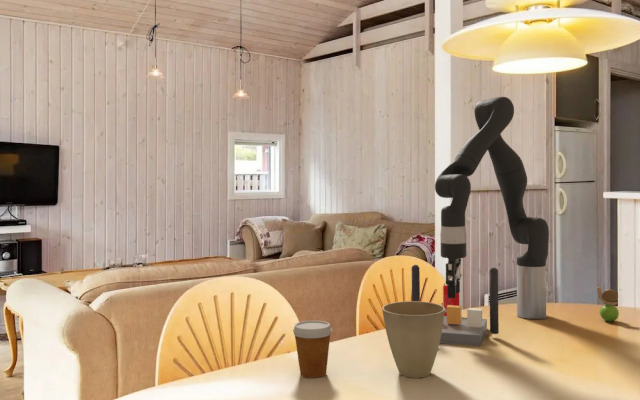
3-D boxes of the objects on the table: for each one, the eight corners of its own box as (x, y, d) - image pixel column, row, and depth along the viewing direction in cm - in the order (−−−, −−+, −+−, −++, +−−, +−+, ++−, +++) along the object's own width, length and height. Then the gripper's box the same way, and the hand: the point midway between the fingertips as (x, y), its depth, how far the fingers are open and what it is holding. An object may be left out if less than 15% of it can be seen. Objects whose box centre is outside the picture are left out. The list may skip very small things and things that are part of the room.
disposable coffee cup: (319, 383, 134) (318, 331, 134) (285, 376, 139) (284, 326, 139) (340, 371, 142) (339, 322, 142) (307, 365, 147) (306, 318, 147)
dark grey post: (498, 332, 170) (498, 267, 169) (498, 334, 168) (497, 268, 167) (490, 331, 171) (489, 266, 170) (489, 333, 169) (489, 268, 168)
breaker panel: (487, 328, 180) (486, 302, 179) (480, 346, 161) (479, 317, 161) (432, 324, 186) (431, 299, 186) (419, 341, 167) (419, 313, 167)
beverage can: (440, 319, 192) (439, 283, 192) (452, 317, 194) (452, 282, 194) (450, 323, 188) (449, 286, 187) (462, 321, 190) (462, 284, 189)
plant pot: (380, 363, 147) (379, 301, 147) (439, 363, 147) (438, 300, 146) (385, 384, 132) (384, 315, 132) (451, 383, 132) (450, 314, 131)
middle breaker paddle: (461, 322, 174) (461, 306, 174) (460, 324, 172) (460, 307, 171) (448, 321, 175) (447, 305, 175) (446, 323, 173) (446, 306, 173)
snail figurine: (598, 318, 190) (598, 281, 190) (620, 320, 187) (619, 283, 186) (595, 321, 186) (594, 284, 186) (617, 324, 182) (617, 286, 182)
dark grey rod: (420, 326, 178) (420, 264, 178) (419, 328, 176) (418, 265, 176) (413, 325, 179) (412, 264, 179) (411, 327, 177) (410, 265, 176)
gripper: (462, 244, 165) (463, 300, 165) (469, 239, 178) (469, 291, 178) (436, 243, 167) (437, 299, 168) (444, 238, 181) (445, 290, 181)
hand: (454, 295), depth 173 cm, fingers open, 8 cm apart
